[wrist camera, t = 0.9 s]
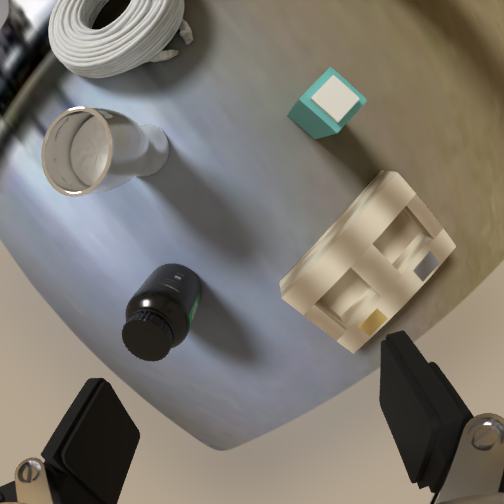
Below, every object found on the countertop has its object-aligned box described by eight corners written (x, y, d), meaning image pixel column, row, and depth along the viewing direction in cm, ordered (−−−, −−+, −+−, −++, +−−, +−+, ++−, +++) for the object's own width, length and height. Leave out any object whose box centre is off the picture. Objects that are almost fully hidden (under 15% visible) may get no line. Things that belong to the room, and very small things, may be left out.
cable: (200, 53, 29) (189, 35, 24) (71, 103, 31) (44, 98, 25) (177, -46, 24) (166, -70, 18) (63, 4, 26) (41, -10, 20)
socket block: (381, 169, 33) (398, 172, 28) (437, 236, 35) (457, 247, 30) (279, 281, 37) (282, 299, 32) (344, 334, 39) (353, 355, 35)
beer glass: (184, 159, 33) (132, 163, 19) (135, 191, 34) (64, 217, 20) (155, 109, 31) (89, 84, 17) (108, 143, 32) (27, 143, 18)
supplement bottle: (213, 285, 37) (195, 340, 26) (182, 321, 39) (157, 381, 28) (168, 250, 36) (131, 293, 25) (140, 289, 38) (101, 340, 26)
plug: (310, 90, 30) (332, 64, 20) (337, 114, 31) (369, 99, 21) (287, 115, 31) (299, 98, 21) (314, 139, 32) (339, 132, 22)
